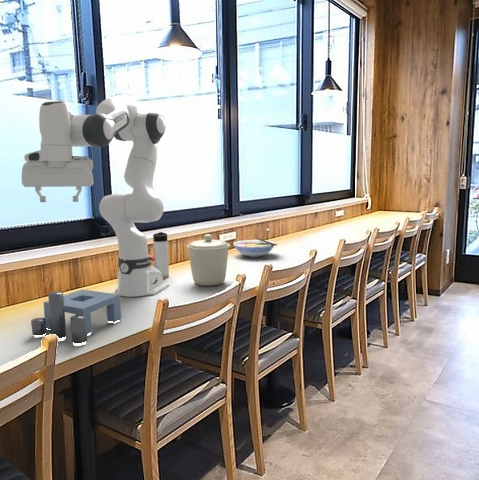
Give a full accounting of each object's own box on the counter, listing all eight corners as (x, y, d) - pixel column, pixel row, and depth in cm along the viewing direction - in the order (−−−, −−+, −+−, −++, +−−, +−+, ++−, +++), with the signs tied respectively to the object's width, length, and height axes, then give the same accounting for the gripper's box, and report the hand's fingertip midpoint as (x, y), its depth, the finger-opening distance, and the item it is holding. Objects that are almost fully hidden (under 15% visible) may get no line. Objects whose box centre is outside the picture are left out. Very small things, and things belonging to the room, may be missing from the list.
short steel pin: (40, 332, 142) (39, 316, 141) (49, 334, 140) (48, 318, 139) (29, 337, 138) (28, 320, 138) (39, 339, 137) (37, 322, 136)
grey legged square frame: (83, 315, 158) (82, 289, 156) (121, 321, 151) (119, 294, 149) (45, 330, 144) (43, 302, 142) (84, 338, 137) (82, 308, 135)
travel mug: (169, 275, 213) (168, 232, 210) (168, 278, 206) (166, 234, 203) (156, 275, 213) (154, 232, 210) (153, 279, 206) (151, 234, 203)
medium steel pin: (79, 340, 135) (77, 314, 134) (90, 342, 133) (88, 315, 132) (69, 345, 131) (67, 318, 130) (79, 347, 130) (77, 320, 128)
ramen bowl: (227, 253, 262) (227, 239, 261) (265, 251, 269) (265, 237, 267) (241, 262, 238) (241, 246, 237) (282, 259, 245) (282, 243, 244)
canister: (204, 276, 210) (202, 230, 207) (238, 281, 201) (237, 232, 197) (179, 285, 195) (177, 235, 191) (215, 291, 186) (213, 238, 182)
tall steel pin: (59, 336, 138) (56, 290, 136) (69, 338, 137) (66, 292, 134) (48, 341, 135) (45, 294, 133) (58, 343, 133) (55, 295, 131)
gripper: (93, 156, 146) (95, 200, 147) (23, 156, 141) (26, 201, 143) (92, 155, 140) (94, 201, 141) (18, 155, 135) (21, 202, 137)
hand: (59, 201), depth 142 cm, fingers open, 8 cm apart
